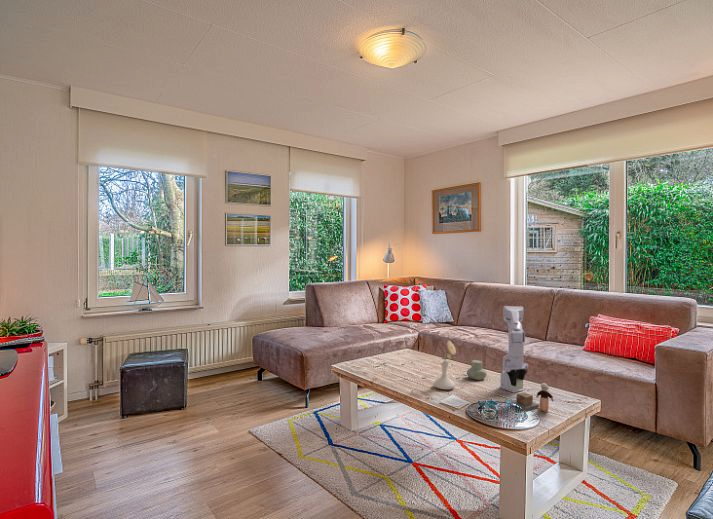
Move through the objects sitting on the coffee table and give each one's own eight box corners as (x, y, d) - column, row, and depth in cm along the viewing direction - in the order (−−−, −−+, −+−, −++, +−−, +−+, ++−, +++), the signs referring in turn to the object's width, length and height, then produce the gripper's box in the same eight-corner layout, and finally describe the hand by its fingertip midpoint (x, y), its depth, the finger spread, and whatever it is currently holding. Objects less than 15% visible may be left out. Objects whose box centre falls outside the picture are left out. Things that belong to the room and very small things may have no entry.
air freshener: (471, 381, 226) (471, 363, 226) (464, 377, 234) (464, 359, 234) (488, 380, 228) (489, 362, 228) (481, 376, 236) (481, 359, 236)
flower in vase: (444, 392, 207) (444, 344, 206) (428, 386, 216) (429, 340, 216) (461, 388, 214) (462, 341, 214) (446, 382, 223) (446, 337, 223)
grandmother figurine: (534, 410, 184) (534, 382, 184) (536, 407, 187) (536, 380, 187) (553, 414, 179) (553, 386, 179) (554, 411, 183) (554, 383, 183)
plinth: (509, 405, 190) (509, 401, 190) (522, 401, 195) (522, 398, 195) (526, 411, 183) (526, 408, 183) (538, 407, 187) (538, 404, 187)
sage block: (510, 387, 192) (510, 379, 192) (515, 386, 194) (515, 378, 194) (517, 390, 188) (517, 381, 188) (522, 388, 190) (522, 380, 190)
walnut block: (516, 402, 189) (516, 394, 189) (523, 400, 192) (523, 392, 192) (525, 405, 185) (525, 397, 185) (532, 403, 188) (532, 395, 188)
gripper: (513, 360, 184) (513, 389, 184) (534, 356, 191) (533, 384, 191) (501, 356, 190) (501, 385, 190) (521, 353, 197) (521, 380, 197)
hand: (516, 384), depth 191 cm, fingers closed on sage block, 4 cm apart
